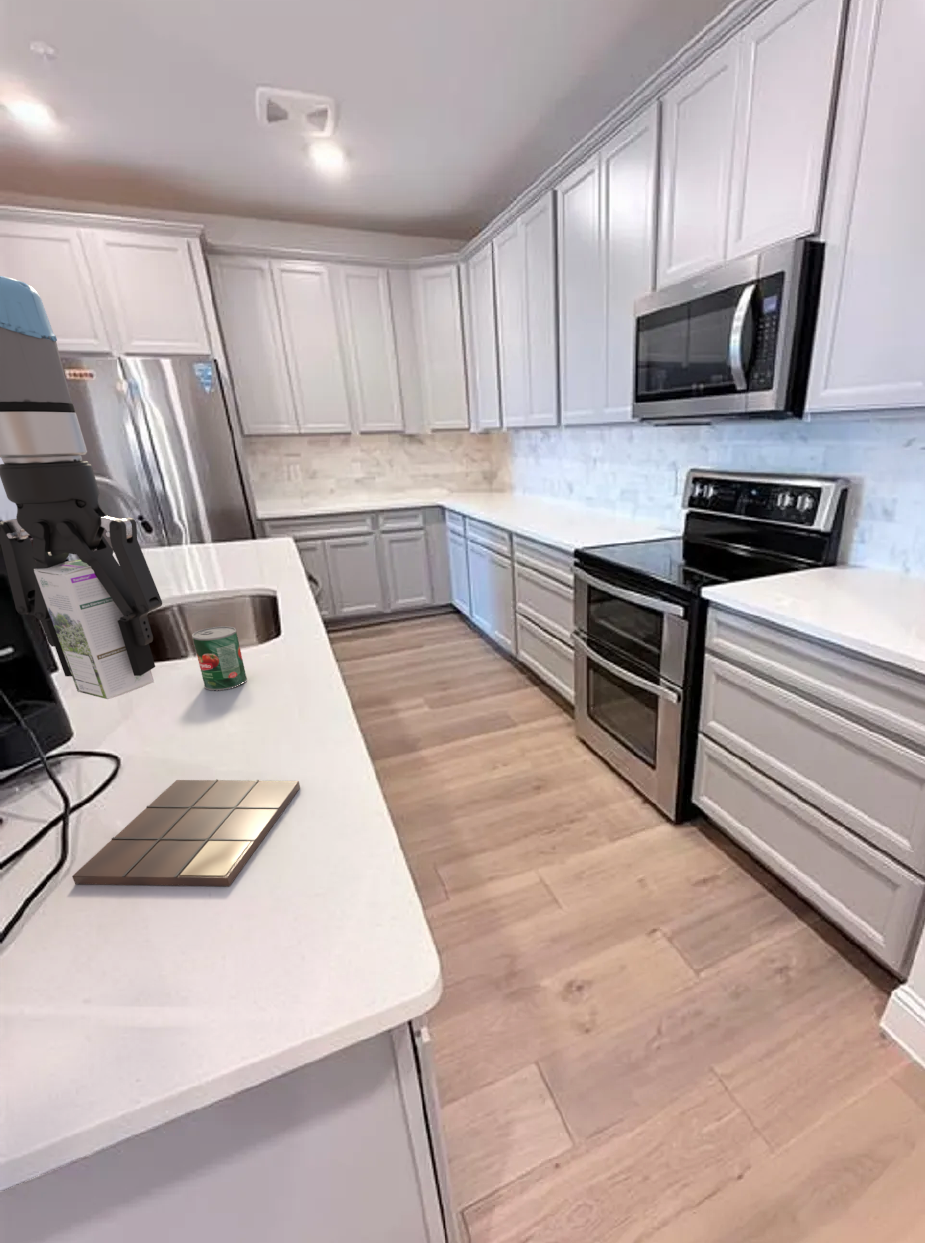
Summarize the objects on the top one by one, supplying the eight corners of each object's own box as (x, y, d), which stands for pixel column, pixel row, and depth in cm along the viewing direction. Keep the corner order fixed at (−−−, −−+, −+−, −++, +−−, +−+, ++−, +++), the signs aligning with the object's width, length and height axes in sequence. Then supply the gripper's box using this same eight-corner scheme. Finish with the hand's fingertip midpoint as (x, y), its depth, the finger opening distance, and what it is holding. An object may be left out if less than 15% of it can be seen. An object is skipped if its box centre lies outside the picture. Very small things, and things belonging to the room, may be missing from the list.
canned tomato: (255, 676, 124) (244, 626, 120) (231, 691, 117) (219, 639, 113) (220, 674, 126) (209, 625, 121) (195, 689, 118) (182, 637, 114)
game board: (74, 884, 67) (71, 875, 67) (178, 786, 86) (176, 779, 85) (229, 886, 67) (227, 877, 66) (300, 787, 85) (298, 780, 85)
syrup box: (156, 682, 70) (121, 560, 64) (105, 701, 65) (63, 571, 59) (125, 675, 72) (89, 556, 67) (74, 693, 67) (30, 567, 62)
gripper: (165, 456, 62) (214, 659, 71) (-21, 459, 63) (50, 660, 71) (117, 460, 55) (178, 683, 64) (-92, 463, 56) (-3, 685, 64)
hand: (111, 671), depth 68 cm, fingers closed on syrup box, 7 cm apart
